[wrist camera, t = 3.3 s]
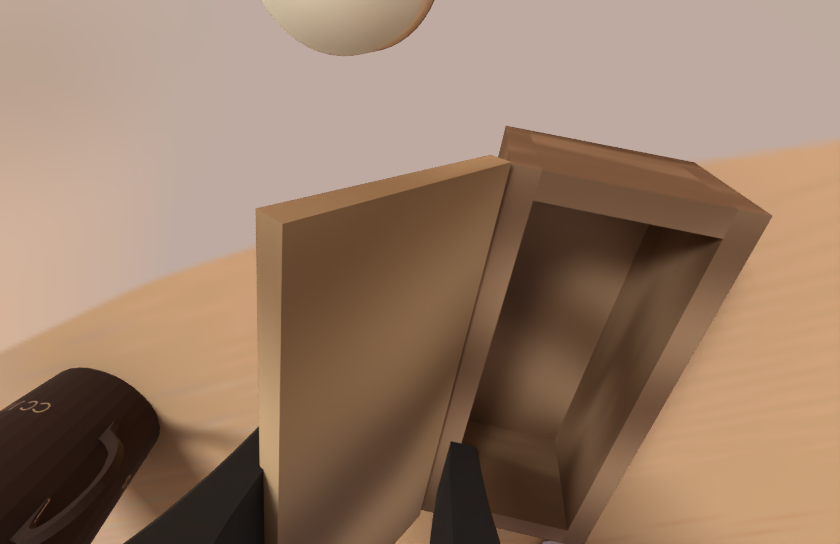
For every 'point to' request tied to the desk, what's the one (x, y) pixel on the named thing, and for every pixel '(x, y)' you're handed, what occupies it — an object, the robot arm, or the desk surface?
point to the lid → (364, 345)
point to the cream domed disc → (348, 23)
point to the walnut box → (586, 322)
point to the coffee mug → (70, 456)
